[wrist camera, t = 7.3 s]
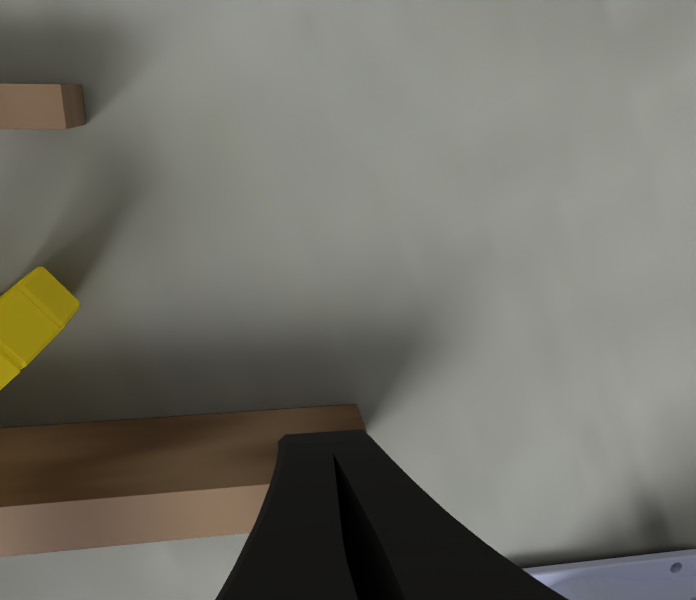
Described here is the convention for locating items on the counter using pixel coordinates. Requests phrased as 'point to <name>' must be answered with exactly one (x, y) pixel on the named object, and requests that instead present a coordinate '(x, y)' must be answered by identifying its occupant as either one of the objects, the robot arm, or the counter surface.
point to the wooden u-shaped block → (135, 442)
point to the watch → (31, 319)
